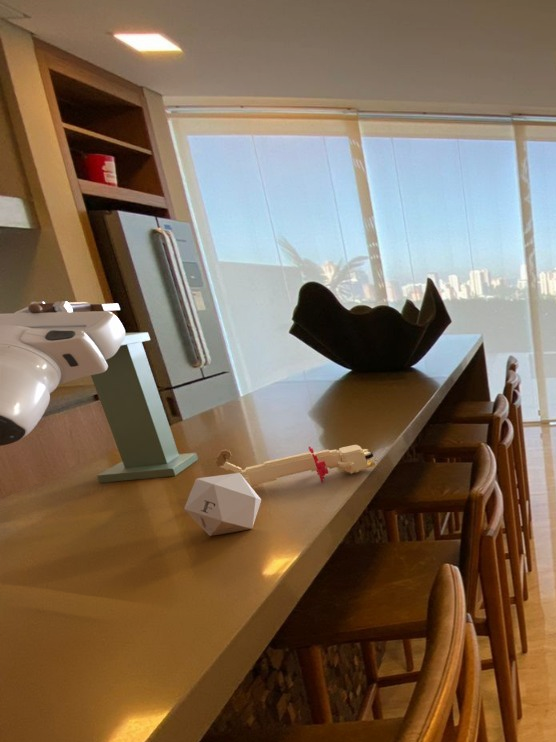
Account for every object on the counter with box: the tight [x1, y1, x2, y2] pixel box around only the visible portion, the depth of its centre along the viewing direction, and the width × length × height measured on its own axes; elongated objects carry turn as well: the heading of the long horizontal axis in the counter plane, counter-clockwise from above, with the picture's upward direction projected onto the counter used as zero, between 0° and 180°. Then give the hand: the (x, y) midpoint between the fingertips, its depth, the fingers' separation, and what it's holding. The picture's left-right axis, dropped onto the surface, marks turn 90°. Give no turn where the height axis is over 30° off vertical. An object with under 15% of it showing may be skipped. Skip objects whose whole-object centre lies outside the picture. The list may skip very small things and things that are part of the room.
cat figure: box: [215, 444, 378, 488], centre depth 104 cm, size 10×9×25 cm
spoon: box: [27, 301, 121, 313], centre depth 95 cm, size 21×4×2 cm, turn 19°
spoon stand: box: [90, 331, 199, 484], centre depth 107 cm, size 12×14×26 cm
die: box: [183, 472, 262, 537], centre depth 83 cm, size 8×9×10 cm
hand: (53, 305), depth 90 cm, fingers closed on spoon, 1 cm apart
